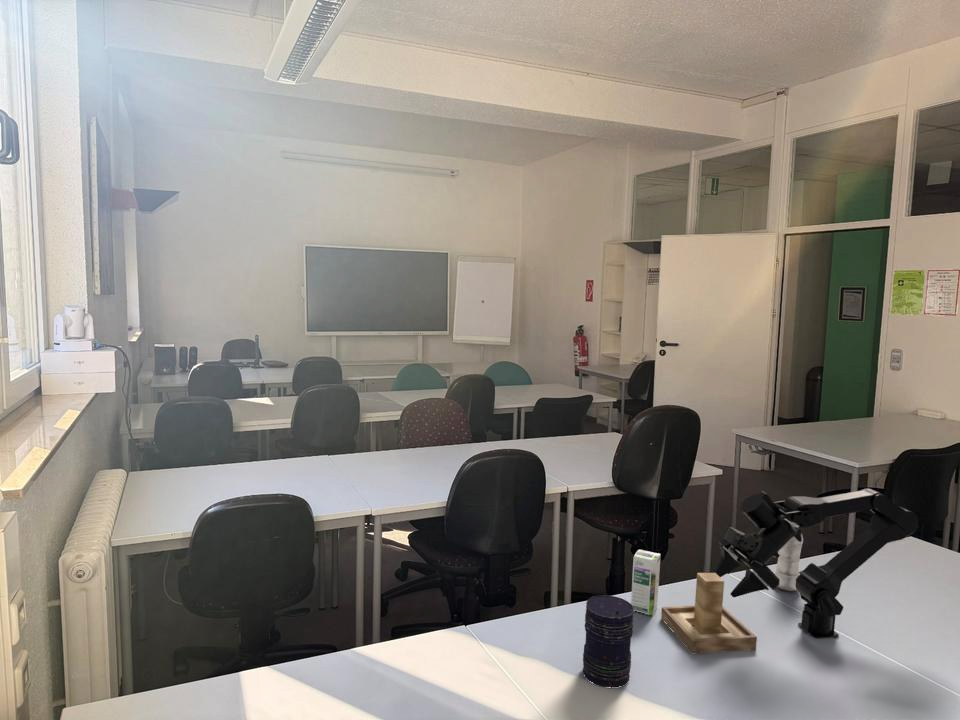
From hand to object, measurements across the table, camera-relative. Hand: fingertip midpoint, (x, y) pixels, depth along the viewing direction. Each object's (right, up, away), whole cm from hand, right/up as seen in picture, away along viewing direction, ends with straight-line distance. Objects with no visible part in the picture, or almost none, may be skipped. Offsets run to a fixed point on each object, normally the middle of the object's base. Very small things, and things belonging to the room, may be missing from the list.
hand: (722, 586), depth 151 cm
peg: (-3, -11, +1) cm, 12 cm away
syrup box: (-15, -10, +12) cm, 22 cm away
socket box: (-3, -11, +1) cm, 12 cm away
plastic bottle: (+28, -10, +26) cm, 40 cm away
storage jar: (-31, -13, -17) cm, 37 cm away
